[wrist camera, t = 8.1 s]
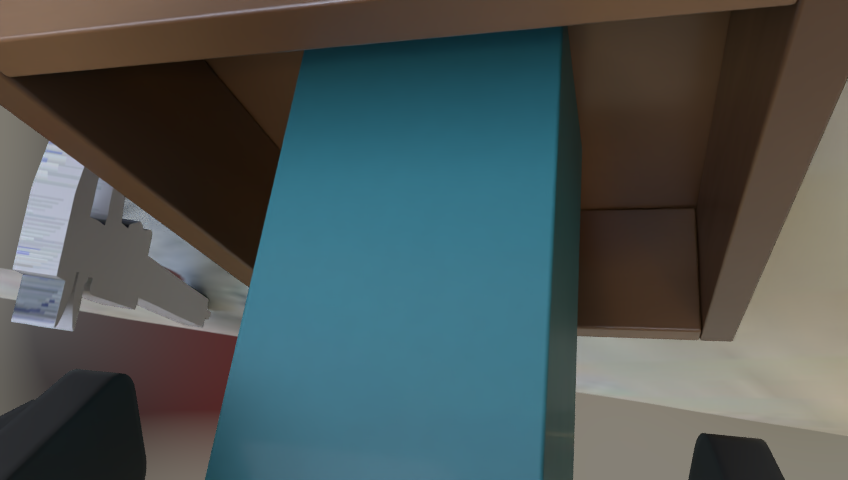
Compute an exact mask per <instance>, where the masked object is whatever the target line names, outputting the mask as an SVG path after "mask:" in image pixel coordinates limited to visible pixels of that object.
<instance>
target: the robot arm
mask: <svg viewBox="0 0 848 480" xmlns="http://www.w3.org/2000/svg"><path fill="white" fill-rule="evenodd" d="M145 475H146V455H145V448H144V442H143V436H142V430H141V423H140V417H139V410H138V404H137V397H136V391H135V387H134V383H133V381H132V379H131V378H130V377H129V376H128V375H126V374H121V373H111V372H101V371H91V370H81V369H75V370H72V371H69V372H68V373H67V374H65V375H64V376H63V377H62V378H60V379H59V380H58V381H57V382H56V383H55V384H54V385H52V386H51V387H50V388H49V389H48V390H46V391H45V392H44V393H43V394H42V395H41V396H39V397H38V398H37V399H36V400H31V401H29V402H27V403H25V404H23V405H21V406H19V407H17V408H15V409H13V410H12V411H10V412H7V413H5V414H4V415H2V416H0V480H145ZM688 480H785V479H784V477H783V475H782V473H781V471H780V469H779V467H778V465H777V463H776V461H775V459H774V457H773V455H772V453H771V451H770V449H769V447H768V445H767V444H766V442H764V440H762V439H756V438H746V437H735V436H725V435H716V434H706V433H702V434H700V435H699V437H698V438H697V441H696V444H695V448H694V453H693V459H692V464H691V469H690V474H689V479H688Z"/></svg>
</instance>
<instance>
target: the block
mask: <svg viewBox="0 0 848 480" xmlns="http://www.w3.org/2000/svg"><path fill="white" fill-rule="evenodd" d="M581 173H582V143H581V135H580V127H579V118H578V110H577V102H576V93H575V85H574V77H573V68H572V60H571V52H570V43H569V35H568V27H567V26H562V27H551V28H540V29H529V30H518V31H508V32H497V33H486V34H475V35H464V36H453V37H443V38H432V39H421V40H410V41H399V42H388V43H378V44H367V45H356V46H345V47H334V48H323V49H313V50H304V53H303V57H302V62H301V66H300V70H299V75H298V79H297V83H296V88H295V92H294V96H293V101H292V105H291V109H290V114H289V118H288V122H287V127H286V131H285V135H284V140H283V144H282V148H281V153H280V157H279V161H278V166H277V170H276V174H275V179H274V183H273V187H272V192H271V196H270V200H269V205H268V209H267V213H266V218H265V222H264V226H263V231H262V235H261V239H260V243H259V248H258V252H257V256H256V261H255V265H254V269H253V274H252V278H251V282H250V287H249V291H248V295H247V300H246V304H245V308H244V313H243V317H242V321H241V326H240V330H239V334H238V339H237V343H236V347H235V352H234V357H233V360H232V365H231V369H230V374H229V378H228V382H227V386H226V391H225V395H224V400H223V404H222V408H221V412H220V417H219V421H218V425H217V430H216V434H215V438H214V443H213V447H212V451H211V456H210V460H209V464H208V469H207V473H206V477H205V480H573V461H574V425H575V389H576V353H577V317H578V281H579V245H580V209H581Z"/></svg>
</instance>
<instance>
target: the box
mask: <svg viewBox="0 0 848 480" xmlns="http://www.w3.org/2000/svg"><path fill="white" fill-rule="evenodd" d="M562 26H567V27H568V35H569V43H570V52H571V60H572V68H573V77H574V85H575V93H576V102H577V110H578V118H579V127H580V135H581V143H582V173H581V209H580V245H579V281H578V317H577V336H593V337H622V338H651V339H680V340H698V339H699V338H700V340H704V341H733V339H734V336H735V334H736V332H737V329H738V327H739V325H740V323H741V320H742V318H743V316H744V313H745V311H746V309H747V307H748V304H749V302H750V300H751V297H752V295H753V293H754V291H755V288H756V286H757V284H758V282H759V279H760V277H761V275H762V272H763V270H764V268H765V266H766V263H767V261H768V259H769V256H770V254H771V252H772V250H773V247H774V245H775V243H776V240H777V238H778V236H779V234H780V231H781V229H782V227H783V224H784V222H785V220H786V218H787V215H788V213H789V211H790V208H791V206H792V204H793V202H794V199H795V197H796V195H797V192H798V190H799V188H800V186H801V183H802V181H803V179H804V177H805V174H806V172H807V170H808V167H809V165H810V163H811V161H812V158H813V156H814V154H815V151H816V149H817V147H818V145H819V142H820V140H821V138H822V135H823V133H824V131H825V129H826V126H827V124H828V122H829V119H830V117H831V115H832V113H833V110H834V108H835V106H836V103H837V101H838V99H839V97H840V94H841V92H842V90H843V88H844V85H845V83H846V81H847V78H848V0H0V105H1V106H3V107H4V108H5V109H7V110H8V111H9V112H11V113H12V114H13V115H15V116H16V117H18V118H19V119H20V120H22V121H23V122H24V123H26V124H27V125H29V126H30V127H31V128H33V129H34V130H35V131H37V132H38V133H40V134H41V135H42V136H43V137H45V138H46V139H48V140H49V141H50V142H52V143H53V144H54V145H56V146H57V147H58V148H60V149H61V150H62V151H64V152H65V153H67V154H68V155H69V156H71V157H72V158H73V159H75V160H76V161H77V162H79V163H80V164H82V165H83V166H84V167H86V168H87V169H88V170H90V171H91V172H92V173H94V174H95V175H97V176H98V177H99V178H101V179H102V180H103V181H105V182H106V183H107V184H109V185H110V186H112V187H113V188H114V189H116V190H117V191H118V192H120V193H121V194H122V195H124V196H125V197H127V198H128V199H129V200H131V201H132V202H133V203H135V204H136V205H137V206H139V207H140V208H141V209H143V210H144V211H146V212H147V213H148V214H150V215H151V216H152V217H154V218H155V219H156V220H158V221H159V222H161V223H162V224H163V225H165V226H166V227H167V228H169V229H170V230H171V231H173V232H174V233H176V234H177V235H178V236H180V237H181V238H182V239H184V240H185V241H186V242H188V243H189V244H191V245H192V246H193V247H195V248H196V249H197V250H199V251H200V252H201V253H203V254H204V255H206V256H207V257H208V258H210V259H211V260H212V261H214V262H215V263H216V264H218V265H219V266H221V267H222V268H223V269H225V270H226V271H227V272H229V273H230V274H231V275H233V276H234V277H236V278H237V279H238V280H240V281H241V282H242V283H244V284H245V285H246V286H248V287H250V282H251V278H252V274H253V269H254V265H255V261H256V256H257V252H258V248H259V243H260V239H261V235H262V231H263V226H264V222H265V218H266V213H267V209H268V205H269V200H270V196H271V192H272V187H273V183H274V179H275V174H276V170H277V166H278V161H279V157H280V153H281V148H282V144H283V140H284V135H285V131H286V127H287V122H288V118H289V114H290V109H291V105H292V101H293V96H294V92H295V88H296V83H297V79H298V75H299V70H300V66H301V62H302V57H303V53H304V50H313V49H323V48H334V47H345V46H356V45H367V44H378V43H388V42H399V41H410V40H421V39H432V38H443V37H453V36H464V35H475V34H486V33H497V32H508V31H518V30H529V29H540V28H551V27H562Z"/></svg>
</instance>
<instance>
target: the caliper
mask: <svg viewBox="0 0 848 480" xmlns="http://www.w3.org/2000/svg"><path fill="white" fill-rule="evenodd" d="M124 200H125V196H124V195H122V194H121V193H120V192H118V191H117V190H116V189H114V188H113V187H112V186H110V185H109V184H107V183H106V182H105V181H103V180H102V179H101V178H99V177H98V176H97V175H95V174H94V173H92V172H91V171H90V170H88V169H87V168H86V167H84V166H83V165H82V164H80V163H79V162H77V161H76V160H75V159H73V158H72V157H71V156H69V155H68V154H67V153H65V152H64V151H62V150H61V149H60V148H58V147H57V146H56V145H54V144H53V143H52V142H50V141H49V142H48V145H47V148H46V151H45V153H44V156H43V158H42V161H41V164H40V166H39V169H38V171H37V174H36V177H35V179H34V182H33V185H32V188H31V192H30V197H29V201H28V206H27V209H26V214H25V218H24V223H23V227H22V231H21V235H20V240H19V244H18V248H17V253H16V257H15V261H14V266H13V270H15V271H17V272H19V273H21V274H23V276H22V280H21V284H20V288H19V292H18V296H17V300H16V304H15V308H14V312H13V316H12V320H11V321H12V322H17V323H24V324H31V325H34V326H40V327H47V328H55V329H61V330H68V331H73V330H74V329H75V325H76V321H77V317H78V312H79V308H80V304H81V299H82V298H84V299H87V300H90V301H93V302H96V303H100V304H103V305H108V306H114V307H121V308H127V309H134V310H135V308H136V305H138V306H140V307H143V308H145V309H147V310H150V311H152V312H154V313H156V314H159V315H161V316H163V317H166V318H168V319H171V320H173V321H176V322H178V323H181V324H183V325H190V326H197V327H203V325H204V321H205V319H209V317H210V315H211V312H210V311H209V310H207V307H208V301H209V300H208V298H206V297H205V296H203V295H202V294H200V293H199V292H197V291H196V290H195V289H193V288H192V287H190V286H189V285H187V284H186V283H184V282H183V281H182V280H180V279H179V278H177V277H176V276H175V275H173V274H172V273H171V272H169V271H168V270H167V269H165V268H164V267H163V266H161V265H160V264H159V263H157V262H156V261H155V260H153V259H152V258H150V257H149V256H148V253H149V248H150V243H151V239H152V231H151V230H147V229H143V226H142V224H141V222H139V221H133V220H127V219H122V215H123V208H124Z"/></svg>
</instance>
